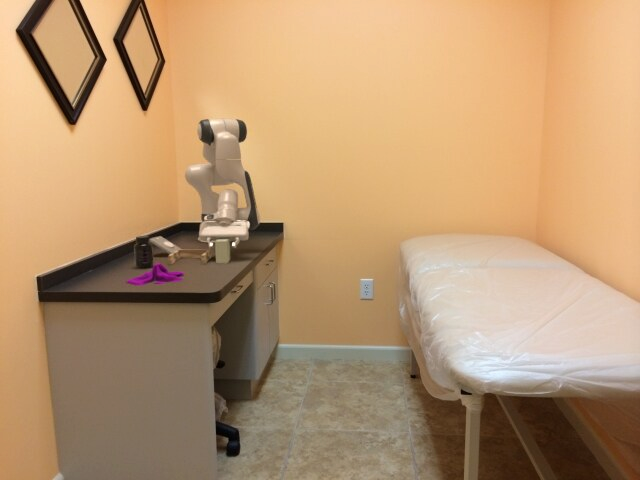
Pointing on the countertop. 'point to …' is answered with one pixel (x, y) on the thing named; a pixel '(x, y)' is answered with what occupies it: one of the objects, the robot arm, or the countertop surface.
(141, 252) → the supplement bottle
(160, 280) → the cloth
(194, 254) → the wooden frame
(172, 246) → the light switch
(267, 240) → the countertop surface
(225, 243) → the pale olive cuboid
